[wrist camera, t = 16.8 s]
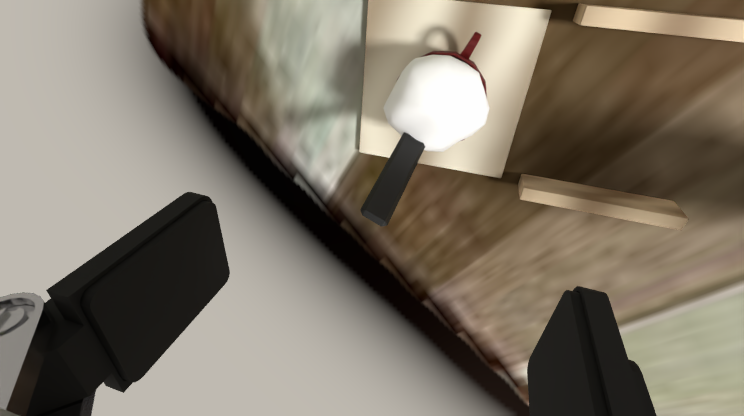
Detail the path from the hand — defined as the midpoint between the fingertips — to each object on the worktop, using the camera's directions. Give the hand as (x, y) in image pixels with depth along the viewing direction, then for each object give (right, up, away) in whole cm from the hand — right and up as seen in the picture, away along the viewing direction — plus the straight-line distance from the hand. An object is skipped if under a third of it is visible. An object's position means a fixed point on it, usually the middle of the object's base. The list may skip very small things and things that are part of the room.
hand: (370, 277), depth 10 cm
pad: (+5, +11, +18) cm, 22 cm away
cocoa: (+5, +11, +18) cm, 21 cm away
